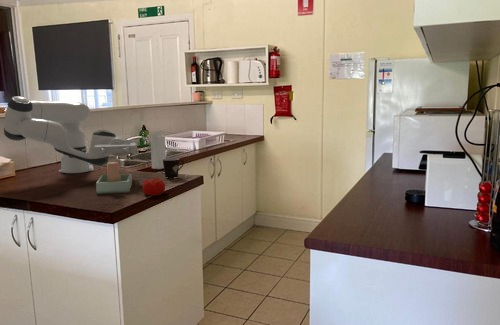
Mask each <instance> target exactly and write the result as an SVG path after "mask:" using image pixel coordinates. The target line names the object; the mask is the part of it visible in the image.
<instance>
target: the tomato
mask: <svg viewBox="0 0 500 325" xmlns="http://www.w3.org/2000/svg"><path fill="white" fill-rule="evenodd" d="M165 190H166V183H165V182H164V181H163V179H160V178H157V177H156V178H152V179H146V180H144V182H143V184H142V191H143V193H144V195H146V196H154V197H156V196H157V197H158V196H160V195H162V194H163V193H164V192H165Z"/></svg>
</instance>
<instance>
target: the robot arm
mask: <svg viewBox="0 0 500 325" xmlns="http://www.w3.org/2000/svg"><path fill="white" fill-rule="evenodd" d="M90 117H91V109H90V107H89V106H88V105H86V104H85V103H82V102H75V101H52V100H30V99H28V98H27V97H24V96H17V95H16V96H12V97H10V99H9V100H8V102H7V107H6V110H5V114H4V127H3V134H4V136H5V137H6V138H7V139H9V140H11V141H16V142H17V141H19V142H20V141H23V140H26V139H29V140H32V141H36V142H39V143H45V144H48V145H49V146H52V147H53V149H54V151H55V152H57V153H60V154H62V156H61V157H60V161H61V162H60V165H61V167H60V169H58V173H63V174H64V173H65V174H81V173H86V172H91V171H92V172H93V171H95V169H94V166H96V167H103V166H105V165H107V163H108V161H109V155H112V156H114V157H120V156H124V155H128V154H135V153H138V144H137V143H136V142H135V140H132V139H126V138H125V137H123V136H122V135H121V136H120V135H116V134H115V132H113V131H109V130H104V129H102V130H101V129H99V130H96V131H93V133H92V136H91V141H90V145H89V146H90V147H89V151H88V152H87V146H86V140H85V132H84V130H83V129H82V127H81V125H80V124H81V123H82V122H86V121H88V120H89V118H90Z"/></svg>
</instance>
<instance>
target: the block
mask: <svg viewBox="0 0 500 325" xmlns="http://www.w3.org/2000/svg"><path fill="white" fill-rule="evenodd" d="M109 162H118V165H119V181H122V180H121V174H122V167H121V166H122V165H121V164H122V163H121V158H115V159H114V158H113V159H108V162H107V163H109Z"/></svg>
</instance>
